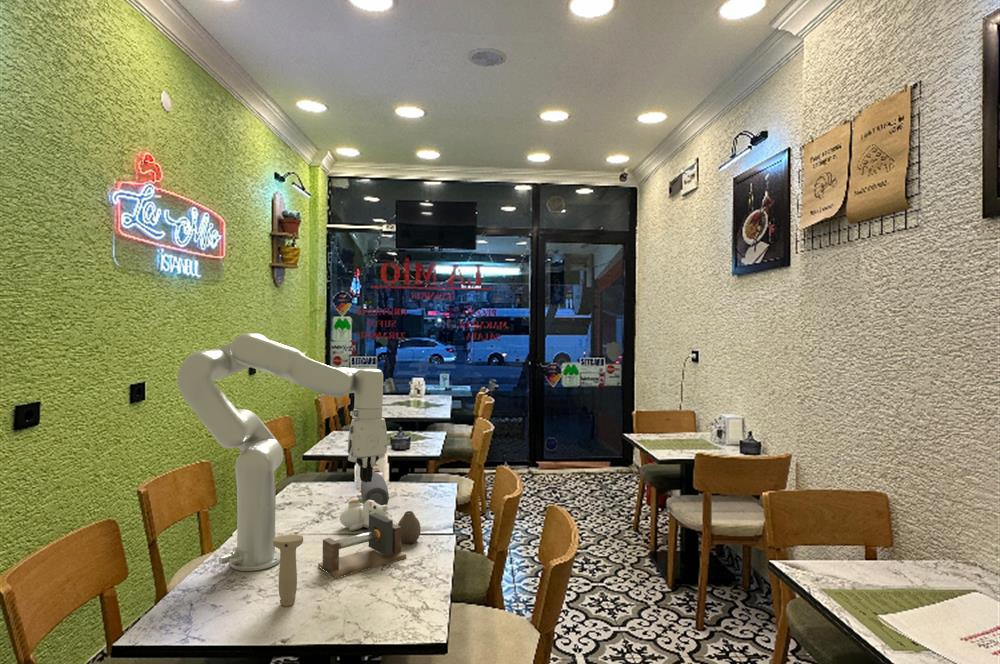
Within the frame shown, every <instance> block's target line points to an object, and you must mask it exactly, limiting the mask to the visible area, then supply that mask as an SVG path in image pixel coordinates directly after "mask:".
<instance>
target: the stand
mask: <svg viewBox="0 0 1000 664" xmlns="http://www.w3.org/2000/svg"><path fill="white" fill-rule="evenodd" d="M404 559H407V554H406V553H405V552H402V542H401V527H400V526H398V524H395V523H393V537H392V554H390V555H384V554H382V553H380V552H378V551H376V550H374V549H372V548H369V549H365V550H362V551H361V550H360V551H356V552H354V553H350V554H347V555H346V554H345V555H343V556H340V549H339V542H337V541H335V539H333V538H331V537H327V538H323V539H322V561H320V562H318V563H317V567H318V566H319V567H321V568H322V569H324V570H325V571H327V572H328V573H330V574H331V575H330V574H329V575H330V576H332V575H333V576H334V577H333V576H332V577H333V578H335V577H336V578H337V579H339V578H338V577H340V578H342V577H341V576H343V577H345V576H344V575H347V576H349V575H348V574H350V575H352V574H351V573H353V574H356V573H355V572H357V573H359V572H358V571H360V572H362V570H364V571H366V570H365V569H367V570H369V569H368V568H370V569H373V568H372V567H374V568H377V567H380V566H383V565H387V564H390V563H395V562H397V561H400V560H404ZM376 566H377V567H376ZM319 567H318V568H319ZM321 568H320V569H321ZM322 569H321V570H322ZM324 570H323V571H324ZM325 571H324V572H325ZM327 572H326V573H327ZM328 573H327V574H328ZM336 578H335V579H336Z"/></svg>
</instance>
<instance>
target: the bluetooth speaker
mask: <svg viewBox="0 0 1000 664" xmlns="http://www.w3.org/2000/svg"><path fill="white" fill-rule="evenodd" d="M388 489H389V488H388V486H387V482H386V481H385V479H384V477H383V476H382V475H381V474H380V473H378V472H374V471H373V474H372V481H371V482H363V481H361V483H360V493H361V500H362V503H363V504H365V502H366V501H367V500H373V501H374V502H375V503H377V504H379V505H387V506H388V503H389V500H390V495H389V490H388Z"/></svg>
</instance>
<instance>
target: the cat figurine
mask: <svg viewBox="0 0 1000 664" xmlns="http://www.w3.org/2000/svg"><path fill="white" fill-rule="evenodd" d="M347 504H348V506H347V507H348V508H346V509H344V510H343V511H342V512H341V514H340V516H339V521H340V524H341V525H343V527H346V528H348V529H349V531H350V532H355V531H358V530H360V529H361V528H365V529H369V514H373V513H376V514H378V515H381V516H383V517H385V518H388V519H389V517H388V515H387V514H386V513H385V512H386V511H387V510H388V504H387V505H379V504H377V503H375V502H374V501H373V500H367V501H366V502H365V504H364V503H363V499H362V498H355V499H352V500H350V501H348V503H347Z"/></svg>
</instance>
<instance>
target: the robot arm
mask: <svg viewBox="0 0 1000 664" xmlns="http://www.w3.org/2000/svg"><path fill="white" fill-rule="evenodd" d="M249 368H251V369H255V370H258V371H261V372H262V373H263V372H264V373H265V374H269V375H273V376H275V377H279V378H281V379H283V380H286V381H288V382H290V383H293V384H296V385H297V386H300V387H302V388H305V389H307V390H310V391H313V392H315V393H319V394H322V395H325V396H328V397H332V398H341V397H344V396H346V395H347V394H348V395H349V394H354V404H353V405H354V406H353V410H351V411H349V416H351V417H353V419H351V421H350V426H349V430H348V431H349V432H348V439H347V454H348V457H347V461H349V462H350V463H351V462H352V463H355V464H357V465H358V467H359V478H360V479H359V480H360V481H361V482H362V481H363V482H371V481H372V474H373V472H374V471H373V469H374V467H376V466H375V464H376V463H377V462H378V461H379V460H381V459H384V458H385V456H386V454H387V451H388V432H387V430H388V429H387V425H386V419H385V418H383V400H384V399H383V396H384V373H383V371H382V370H381V369H379V368H352V367H347V366H346V367H345V366H340V367H333V366H330V365H327V364H325V363H322V362H319V361H318V360H317V361H316V360H314V359H312V358H310V357H308V356H306V355H305V354H304V353H303V352H302V351H300V350H299V349H297V348H295V347H291V346H290V345H289V346H288V345H285V344H282V343H279V342H277V341H274V340H270V339H268V337H266V336H265V335H263V334H261V333H258V332H246V333H242V334H239V335H238V336H236V337H235V338H233V341H232V342H230V343H227V344H224V345H222V346H220V347H219V346H218V347H215V348H214V349H203V350H198V351H195V352H192V353H191V354H189V355H188V356H187V357H185V359H184V360H183V361H182V363H181V365H180V367H179V369H178V372H177V379H176V380H177V381H176V382H177V387H178V390H179V393H180V395H181V396H182V398H183V400H184V401H185V403H186V404H187V405H188V406H189V407H190V409H191V410H192V412H194V414H195V415H196V417H197V418H198V419H199V421H201V423H202V424H203V426H205V428H206V430H208V432H209V433H210V434H211V435H212V436H213V438H214V439H215V441H216V442H217V443H218V444H219V445H220V446H222V447H223V448H225V449H236V448H238V449H239V450H240V453H239V455H238V457H237V459H236V462H235V470H234V472H235V480H236V481H235V482H236V490H237V492H236V494H237V495H236V496H237V498H236V499H237V500H236V501H237V502H236V505H237V510H236V511H237V512H236V513H237V515H236V516H237V521H236V524H237V525H236V526H237V527H236V530H237V531H236V547H234V548H233V549H232V551H231V552H230V553H229V554H227V555H226V554H225V555H223V556H219V557H218V564H219V565H220V566H221V565H225V564H227V563H228V564H229V565H230V567H231V568H232V569H233V570H236V571H241V572H255V571H261V570H262V571H263V570H266V569H269V568H272V567H274V566H276V565H278V564H280V552H278V551H277V550H276V547H275V546H274V545H273V539H274V538H275V537H276V507H277V506H276V504H277V503H276V499H277V498H276V496H277V495H276V494H277V493H276V492H277V491H276V480H275V471H276V470H277V469H278V468H279V467H280V465H281V464H282V462H283V460H284V450H283V447H282V445H281V444H280V443H279V441H278V440H277V438H276V437H275V436H274V434H273V433H272V432H271V431H270V430H269V428H268V426H266V425H265V424H264V422H263V420H261V419H260V417H259V416H258V415H257V414H256V413H254V412H253V411H251V410H249V409H246V408H236V407H235V406H234V404H233V403H232V402H231V401H230V399H229V398H228V396H227V395H226V394H225V393H224V392H223V391H222V390H221V389H219V387H218V386H217V385H216V384H215V381H217V380H221V379H225V378H228V377H230V376H232V375H234V374H236V373H240V372H242V371H244V370H246V369H249Z"/></svg>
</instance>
